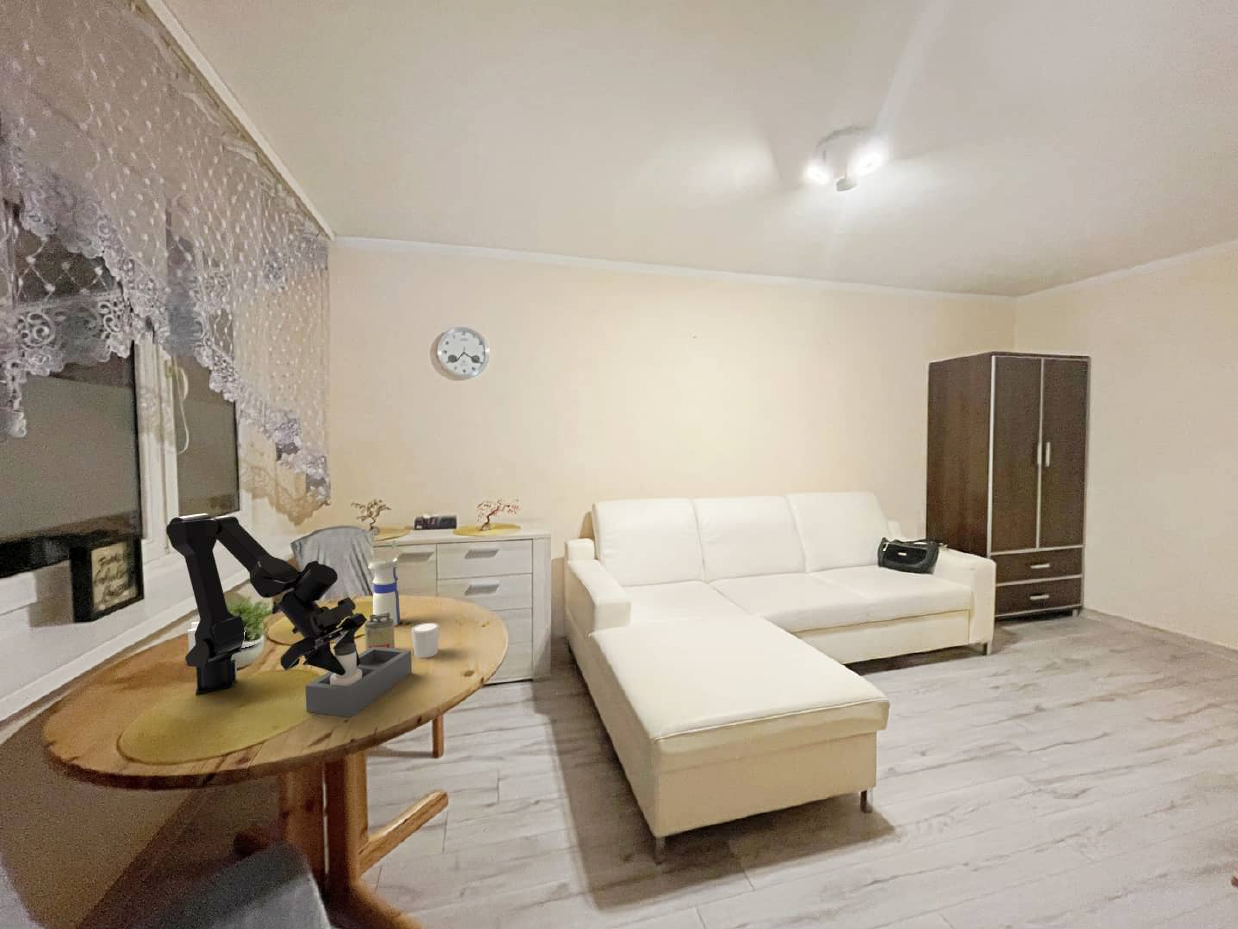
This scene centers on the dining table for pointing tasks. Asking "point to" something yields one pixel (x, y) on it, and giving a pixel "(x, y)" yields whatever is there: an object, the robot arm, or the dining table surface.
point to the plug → (346, 665)
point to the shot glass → (425, 639)
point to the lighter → (379, 632)
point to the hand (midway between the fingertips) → (351, 669)
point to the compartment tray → (360, 683)
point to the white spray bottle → (386, 587)
